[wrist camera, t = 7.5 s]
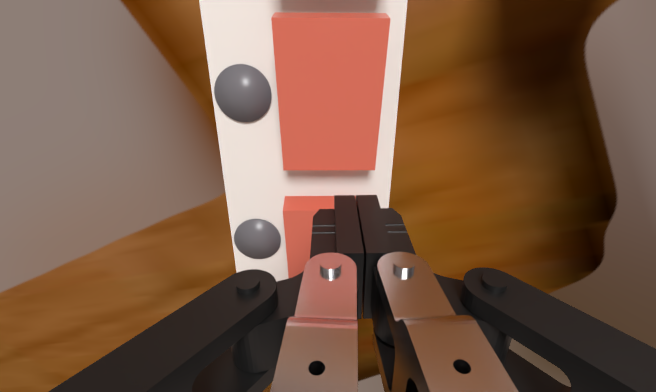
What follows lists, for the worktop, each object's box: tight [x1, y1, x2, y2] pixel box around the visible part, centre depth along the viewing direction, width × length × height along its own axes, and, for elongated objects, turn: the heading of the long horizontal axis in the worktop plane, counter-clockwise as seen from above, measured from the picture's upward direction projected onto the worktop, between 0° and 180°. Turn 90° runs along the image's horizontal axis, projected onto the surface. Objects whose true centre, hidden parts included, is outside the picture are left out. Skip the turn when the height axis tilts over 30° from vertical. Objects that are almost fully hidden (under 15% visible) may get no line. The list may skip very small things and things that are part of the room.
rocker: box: [283, 196, 356, 278], centre depth 26 cm, size 6×9×2 cm, turn 0°
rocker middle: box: [271, 12, 391, 170], centre depth 21 cm, size 6×9×2 cm, turn 0°
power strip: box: [199, 0, 407, 282], centre depth 22 cm, size 12×40×5 cm, turn 0°
